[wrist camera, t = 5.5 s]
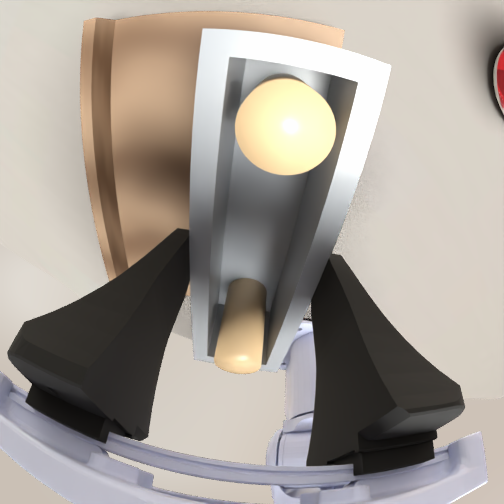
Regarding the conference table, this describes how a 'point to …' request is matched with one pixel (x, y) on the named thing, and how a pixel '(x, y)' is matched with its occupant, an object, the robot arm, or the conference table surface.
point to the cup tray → (270, 185)
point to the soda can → (499, 79)
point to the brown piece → (151, 119)
